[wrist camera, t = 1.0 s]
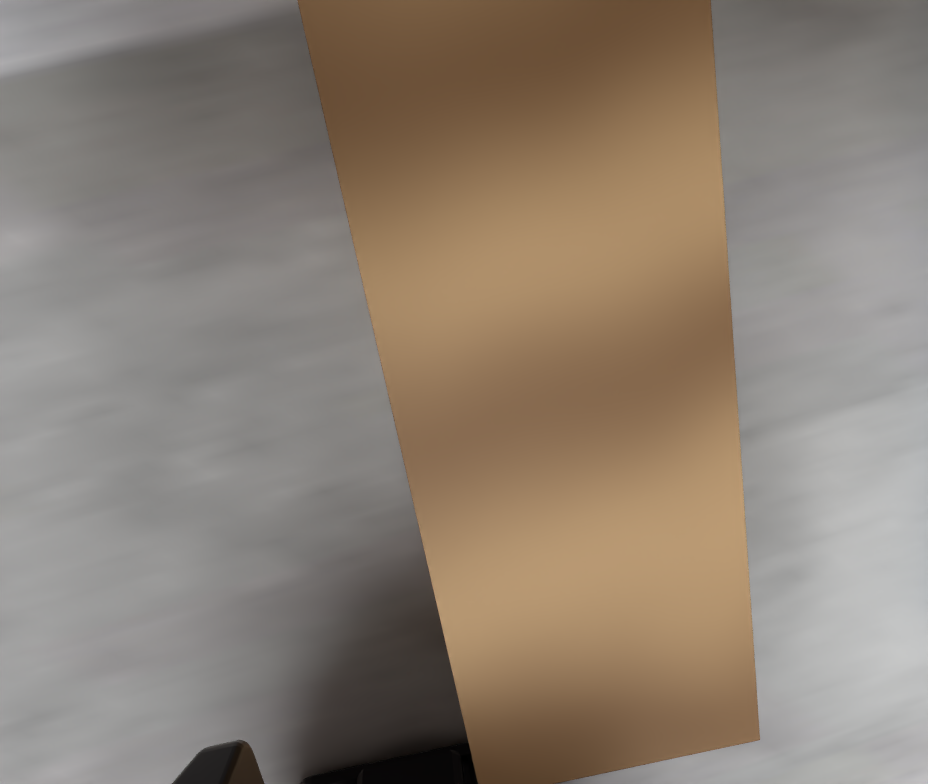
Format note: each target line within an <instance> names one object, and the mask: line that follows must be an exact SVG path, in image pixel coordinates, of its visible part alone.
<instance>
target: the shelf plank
mask: <svg viewBox="0 0 928 784" xmlns="http://www.w3.org/2000/svg"><path fill="white" fill-rule="evenodd" d="M298 5H299V9H300V13H301V18H302V22H303V26H304V31H305V35H306V39H307V44H308V48H309V52H310V57H311V61H312V65H313V70H314V74H315V78H316V83H317V87H318V92H319V96H320V100H321V105H322V109H323V113H324V118H325V122H326V126H327V131H328V135H329V139H330V144H331V148H332V152H333V157H334V161H335V165H336V170H337V174H338V178H339V183H340V187H341V191H342V196H343V200H344V204H345V209H346V213H347V217H348V222H349V226H350V230H351V235H352V239H353V243H354V248H355V252H356V256H357V261H358V265H359V269H360V274H361V278H362V282H363V287H364V291H365V295H366V300H367V304H368V308H369V313H370V317H371V321H372V326H373V330H374V334H375V339H376V343H377V347H378V352H379V356H380V360H381V365H382V369H383V373H384V378H385V382H386V386H387V391H388V395H389V399H390V404H391V408H392V412H393V417H394V421H395V425H396V430H397V434H398V439H399V443H400V447H401V452H402V456H403V460H404V465H405V469H406V473H407V478H408V482H409V486H410V491H411V495H412V499H413V504H414V508H415V512H416V517H417V521H418V525H419V530H420V534H421V538H422V543H423V547H424V551H425V556H426V560H427V564H428V569H429V573H430V577H431V582H432V586H433V590H434V595H435V599H436V603H437V608H438V612H439V616H440V621H441V625H442V629H443V634H444V638H445V642H446V647H447V651H448V655H449V660H450V664H451V668H452V673H453V677H454V681H455V686H456V690H457V694H458V699H459V703H460V707H461V712H462V716H463V720H464V725H465V729H466V733H467V738H468V742H469V746H470V751H471V755H472V759H473V764H474V768H475V772H476V777H477V781H478V784H555V783H560V782H565V781H569V780H574V779H579V778H583V777H588V776H593V775H597V774H602V773H607V772H612V771H616V770H621V769H626V768H630V767H635V766H640V765H645V764H649V763H654V762H659V761H663V760H668V759H673V758H677V757H682V756H687V755H692V754H696V753H701V752H706V751H710V750H715V749H720V748H724V747H729V746H734V745H739V744H743V743H748V742H753V741H757V740H760V735H759V720H758V705H757V690H756V675H755V660H754V645H753V630H752V615H751V599H750V584H749V569H748V554H747V539H746V524H745V509H744V494H743V479H742V464H741V449H740V434H739V419H738V404H737V389H736V374H735V359H734V344H733V329H732V314H731V299H730V284H729V269H728V254H727V239H726V224H725V209H724V194H723V179H722V164H721V149H720V134H719V119H718V104H717V89H716V74H715V59H714V44H713V29H712V14H711V0H298Z"/></svg>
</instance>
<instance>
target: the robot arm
mask: <svg viewBox="0 0 928 784" xmlns="http://www.w3.org/2000/svg"><path fill="white" fill-rule="evenodd" d="M172 784H264V781H263V778H262V775H261V773H260V770H259V767H258V764H257V761H256V759H255V756H254V753H253V751H252V748H251V747H250V746H249V744H248V743H247V742H245V741H242V740H237V741H232V742H227V743H223V744H218V745H214V746H209V747H207V748H204V749H203V750H201V751H200V752H199V753H198V754H197V755H196V756H195V757H194V758H193V760H192V761H191V762H190V763H189V764H188V765H187V767H186V768H185V769H184V770H183V771H182V772H181V774H180V775H179V776H178V777H177V778H176V780H175V781H174V782H173V783H172ZM300 784H478V781H477V777H476V772H475V768H474V764H473V759H472V755H471V751H470V746H469V743H464V744H459V745H455V746H450V747H445V748H441V749H436V750H431V751H427V752H422V753H417V754H413V755H408V756H403V757H399V758H394V759H389V760H384V761H380V762H375V763H370V764H366V765H361V766H356V767H352V768H347V769H342V770H338V771H333V772H328V773H324V774H319V775H314V776H311V777H308V778H305V779H304V780H303V781H302V782H301V783H300Z"/></svg>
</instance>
